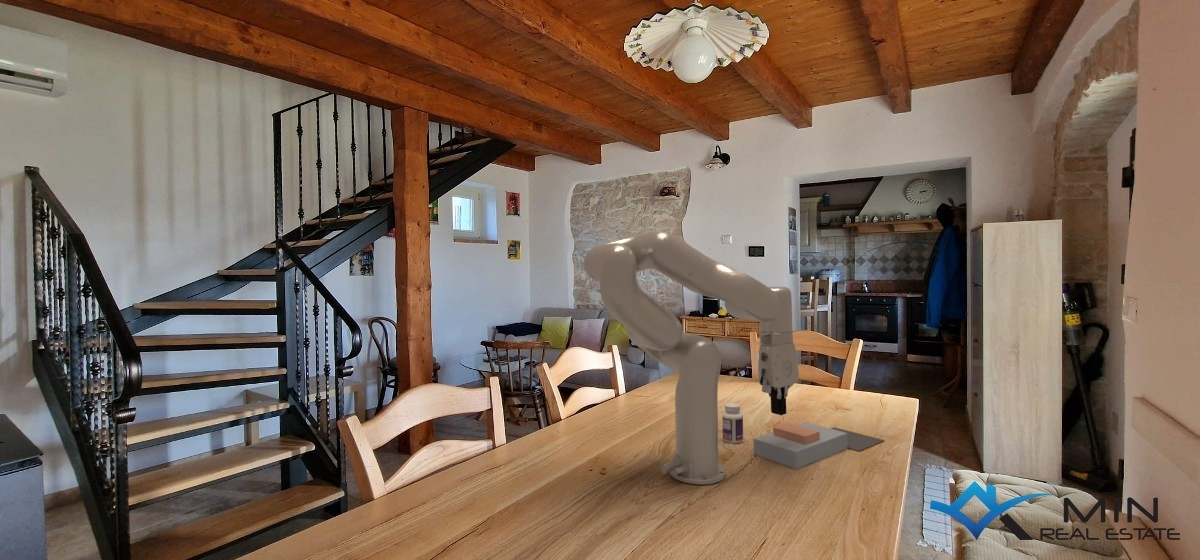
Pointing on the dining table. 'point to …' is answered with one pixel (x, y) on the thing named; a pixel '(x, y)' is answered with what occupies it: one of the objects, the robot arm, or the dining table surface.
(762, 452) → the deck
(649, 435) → the dining table surface
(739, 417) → the pill bottle
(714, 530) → the dining table surface
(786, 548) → the dining table surface
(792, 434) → the tile
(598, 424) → the dining table surface
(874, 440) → the mat
